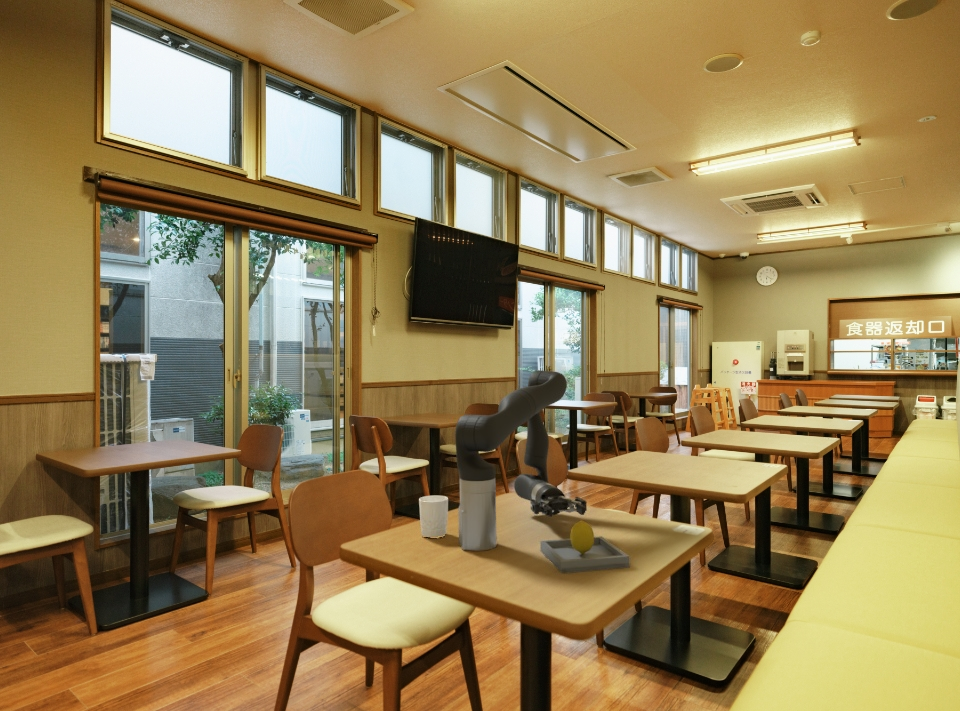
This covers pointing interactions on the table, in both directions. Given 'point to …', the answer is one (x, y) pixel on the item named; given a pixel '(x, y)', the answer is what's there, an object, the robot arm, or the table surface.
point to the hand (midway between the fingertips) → (567, 511)
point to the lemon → (582, 537)
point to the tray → (584, 556)
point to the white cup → (433, 515)
